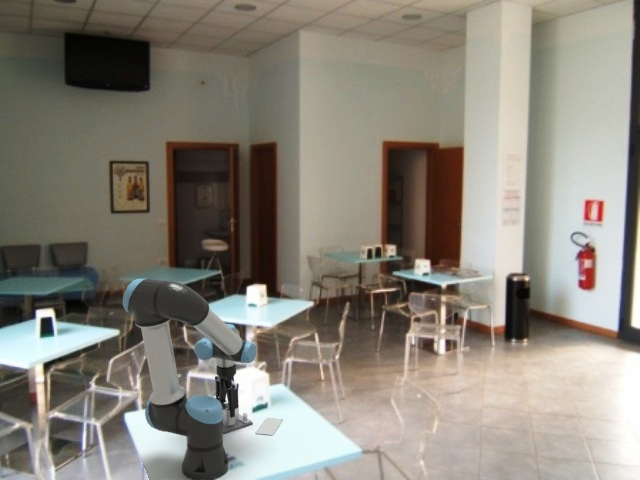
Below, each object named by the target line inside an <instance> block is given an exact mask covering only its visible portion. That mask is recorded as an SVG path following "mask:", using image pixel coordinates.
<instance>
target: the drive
mask: <svg viewBox="0 0 640 480" xmlns="http://www.w3.org/2000/svg"><path fill="white" fill-rule="evenodd" d="M238 406H239V404H238ZM228 408H229V406H228V402H225V404H222V411H223V428H224V427H227V426H228V410H227V409H228ZM239 412H240V411H239V407H238V408H236V409H235V424H236V423H239V414H240V413H239Z"/></svg>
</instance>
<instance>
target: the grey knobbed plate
mask: <svg viewBox="0 0 640 480" xmlns="http://www.w3.org/2000/svg"><path fill="white" fill-rule="evenodd" d="M253 424H254V422H253V421H252V420H251V419H249V418H248V413H246V412H244V413H243V414H242V415H241V414H240V413H239V423H236V424H233V425H230V426H227V427H224V428H223V435H225V434H229V433H231V432H235V431H238V430H240V429H244V428H246V427H250V426H252V425H253Z"/></svg>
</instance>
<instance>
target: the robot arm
mask: <svg viewBox="0 0 640 480" xmlns="http://www.w3.org/2000/svg"><path fill="white" fill-rule="evenodd" d="M122 306H123V309H124V310H125V312H126V313H127V314H130V315H131V316H132V315H133V319H134V324H135V326H136V327H138V328H140V329H141V335H142V336H141V337H142V339H143V345H144V346H143V347H144V351H145V356H146V361H147V366H148V372H149V376H150V382H151V386H152V387H151V388H152V392H151V394H150V395H149V399H147V403H146V405H145V406H146V408H145V409H144V410H145V411H144V415H145V420H146V423H147V424H148V425H149V426H150V427H151V428H153V429H155V430H157V431H160V432H164V433H165V432H167V433H170V434H175V435H178V436H182V437H186V451H185V453H184V456H183V460H182V464H181V472H182V475H183V476H184V477H185V478H187V479H190V480H214V479H215V480H216V479H218V478H219V477H222V476H223V475H225V474H226V473H227V472H228V471H229V468H228V464H229V458H228V455H227V453H226V449H225V447H224V434H223V411H222V404H225V403H228V406H229V408H228V409H227V410H228V426H230V425H233V424H235V409H236V408H238V407H239V406H238V405H239V386H240V384H239V383H236V382H235V378H234V376H235V375H236V374H237V364H236V363H237V362H238V363H242V364H243V363H244V364H251V363H253V362H254V361H255V359H256V356H257V353H258V348H257V345H256V344H255V343H254V342H253V341H249V340H244V339H243V338H241V336H239V334H237V333H236V332H237V331H236V326H235V325H234V324H232V323H225V321H223V320H222V318H220V317H219V316H218V315H217V314H216V313H215V312H214V311H213V310H212V309H211V308H210V305H209V303H208V301H207V300H206V299H204V297H202V296H201V294H199V293H198V292H196V291H195V290H193V288H192V287H189V286H187V285H186V284H184V283H181V282H178V281H173V280H163V279H154V278H150V277H149V278H148V277H147V278H137V279H135V280H132V281H131V282H130V283H129V284H128V286H127V287H126V290H125V291H124V294H123V296H122ZM171 320H174V321H175V320H176V321H177V322H178V321H179V322H182V323H183V324H185V325H186V326H188V327H194V328H195V329H196V330H197V331H198V332H200V333H201V334H202V335H203V336H204V337H203V338H202V339H200V340H198V341H197V342H196V343H195V345H194V354H195V356H196V357H197V358H198V359H199V360H201V361H206V360H207V361H208V360H211V359H215V360H216V361H215V364H216V375H217V376H214V381H215V397H213V396H209V395H207V394H206V395H193V396H190V397H189V398H188V397H187V393H186V390H185V387H184V386H182V385H180V381H179V375H178V370H177V363H176V359H175V358H176V357H175V353H174V347H173V342H172V335H171V330H170V325H169V322H171ZM226 398H227V400H226ZM229 465H230V464H229Z"/></svg>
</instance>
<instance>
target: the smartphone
mask: <svg viewBox="0 0 640 480" xmlns="http://www.w3.org/2000/svg"><path fill="white" fill-rule="evenodd" d="M283 421H284V419H283V418H271V417H266V418H265V420H263V422H262V424H261V425H260V426H259V428H258V429H257V430H256V432H255V434H256V435H260V436H261V435H262V436H271V437H272V436H274V434H275V433H276V431H278V428H280V426H281V424H282V422H283Z"/></svg>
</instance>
